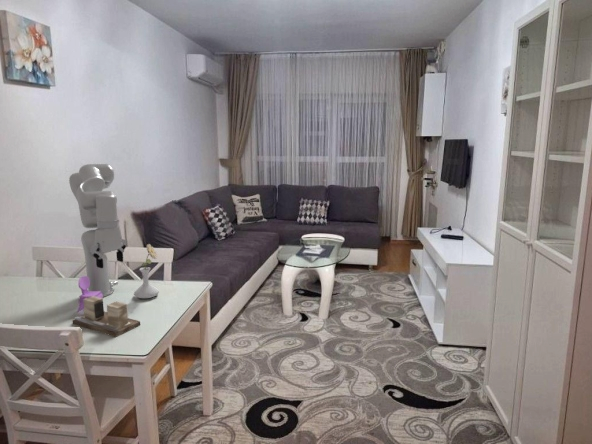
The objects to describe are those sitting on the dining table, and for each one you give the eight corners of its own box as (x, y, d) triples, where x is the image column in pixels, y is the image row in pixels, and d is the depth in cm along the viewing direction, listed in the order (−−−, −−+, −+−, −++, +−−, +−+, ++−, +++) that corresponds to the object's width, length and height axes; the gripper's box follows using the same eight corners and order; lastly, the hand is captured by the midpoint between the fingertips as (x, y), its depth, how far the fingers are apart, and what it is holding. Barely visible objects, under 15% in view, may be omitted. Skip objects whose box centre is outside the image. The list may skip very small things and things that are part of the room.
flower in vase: (148, 302, 190) (145, 249, 185) (128, 298, 194) (125, 247, 189) (166, 292, 202) (163, 243, 198) (147, 289, 206) (143, 241, 201)
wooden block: (118, 327, 160) (117, 307, 158) (107, 323, 163) (105, 304, 161) (128, 323, 164) (126, 304, 162) (116, 319, 166) (115, 301, 165)
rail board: (98, 313, 177) (97, 292, 175) (140, 324, 166) (138, 302, 164) (72, 323, 167) (70, 301, 165) (115, 336, 155) (113, 313, 154)
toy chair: (96, 313, 177) (93, 280, 174) (75, 313, 177) (72, 280, 174) (105, 306, 185) (102, 274, 182) (86, 305, 185) (83, 274, 182)
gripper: (119, 219, 177) (121, 257, 181) (82, 227, 162) (85, 268, 166) (131, 221, 173) (133, 260, 177) (94, 229, 158) (98, 271, 162)
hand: (110, 264), depth 171 cm, fingers open, 9 cm apart
